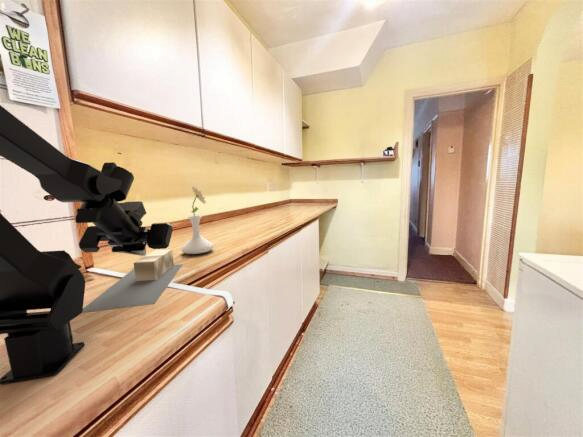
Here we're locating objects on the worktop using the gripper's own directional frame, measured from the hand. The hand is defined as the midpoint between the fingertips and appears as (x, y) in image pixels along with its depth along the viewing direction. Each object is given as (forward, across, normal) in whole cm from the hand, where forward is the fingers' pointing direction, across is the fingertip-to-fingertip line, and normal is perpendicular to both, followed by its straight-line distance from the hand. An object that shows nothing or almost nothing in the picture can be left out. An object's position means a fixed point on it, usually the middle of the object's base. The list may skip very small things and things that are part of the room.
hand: (144, 254), depth 63 cm
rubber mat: (+4, 0, +7) cm, 8 cm away
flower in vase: (+25, -5, -14) cm, 29 cm away
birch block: (+3, 0, +4) cm, 5 cm away
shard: (+6, +18, +6) cm, 20 cm away
